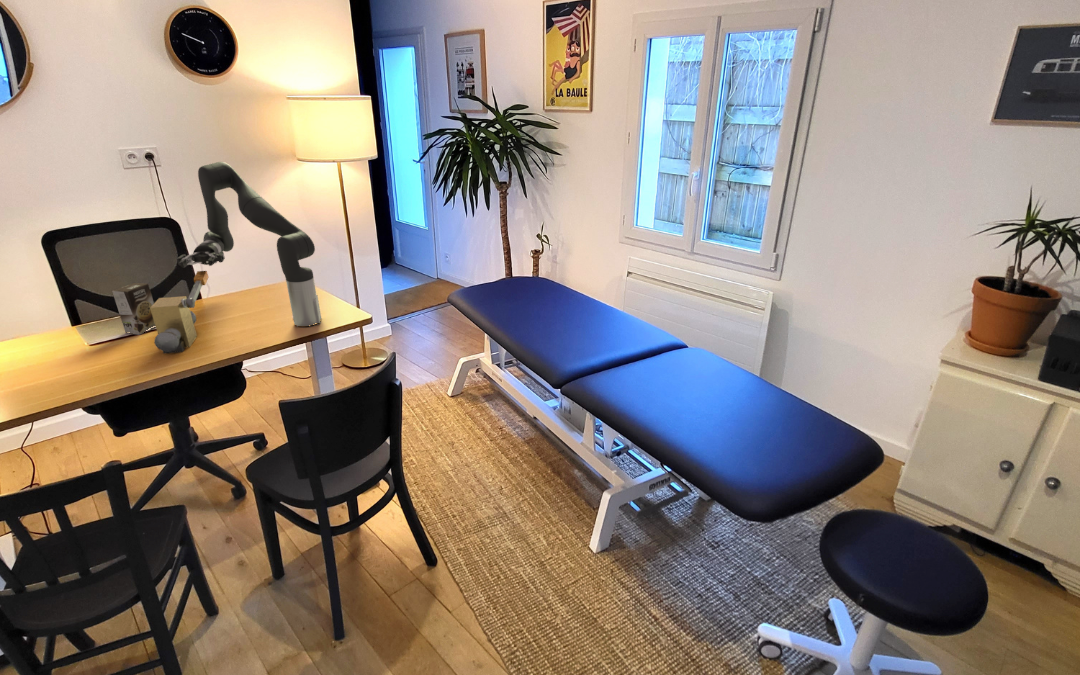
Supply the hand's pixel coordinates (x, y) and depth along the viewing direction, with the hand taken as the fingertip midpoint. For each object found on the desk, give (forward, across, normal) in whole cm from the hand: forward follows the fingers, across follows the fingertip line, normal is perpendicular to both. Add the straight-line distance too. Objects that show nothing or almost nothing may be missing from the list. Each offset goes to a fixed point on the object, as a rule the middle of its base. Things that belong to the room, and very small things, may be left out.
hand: (196, 264), depth 194 cm
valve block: (+15, -7, +23) cm, 28 cm away
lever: (+16, 0, +9) cm, 19 cm away
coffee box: (-1, -23, +23) cm, 32 cm away
